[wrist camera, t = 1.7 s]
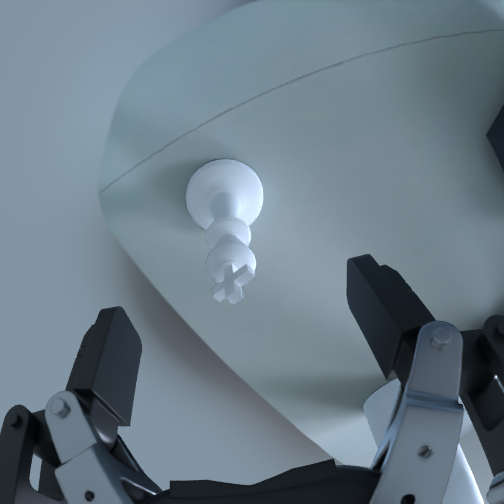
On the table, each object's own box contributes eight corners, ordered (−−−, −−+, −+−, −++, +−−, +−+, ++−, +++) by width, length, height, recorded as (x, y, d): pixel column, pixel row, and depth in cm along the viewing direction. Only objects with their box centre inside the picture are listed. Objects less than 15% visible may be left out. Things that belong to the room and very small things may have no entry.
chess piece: (277, 199, 19) (328, 298, 11) (220, 243, 20) (228, 360, 12) (229, 142, 17) (244, 202, 8) (170, 194, 18) (134, 294, 9)
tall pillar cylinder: (407, 402, 40) (455, 517, 19) (354, 418, 39) (396, 549, 18) (434, 365, 35) (500, 497, 13) (376, 382, 33) (437, 541, 12)
